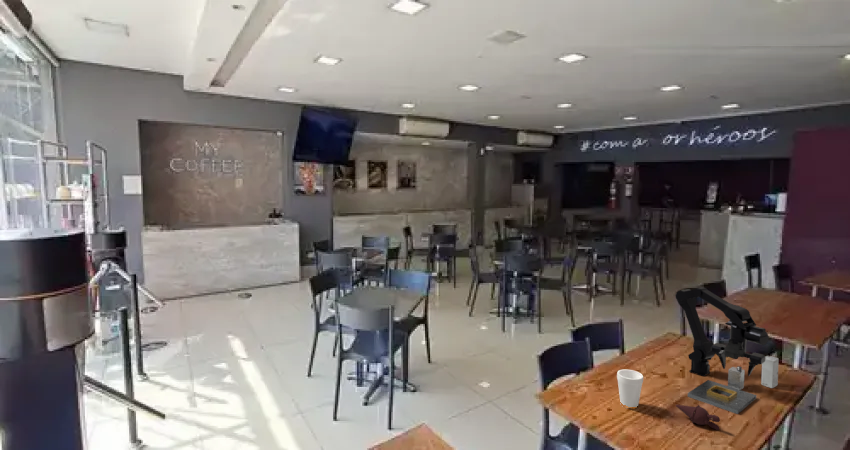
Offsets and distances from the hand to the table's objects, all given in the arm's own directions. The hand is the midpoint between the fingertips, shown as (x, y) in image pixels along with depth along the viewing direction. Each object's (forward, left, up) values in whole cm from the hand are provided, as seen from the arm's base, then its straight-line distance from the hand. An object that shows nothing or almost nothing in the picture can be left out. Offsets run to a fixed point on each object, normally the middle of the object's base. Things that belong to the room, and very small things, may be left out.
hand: (736, 372), depth 191 cm
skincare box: (+8, +14, -7) cm, 18 cm away
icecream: (+2, -44, -7) cm, 45 cm away
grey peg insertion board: (0, -15, -7) cm, 16 cm away
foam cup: (-20, -51, -7) cm, 55 cm away
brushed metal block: (0, 0, -7) cm, 7 cm away
